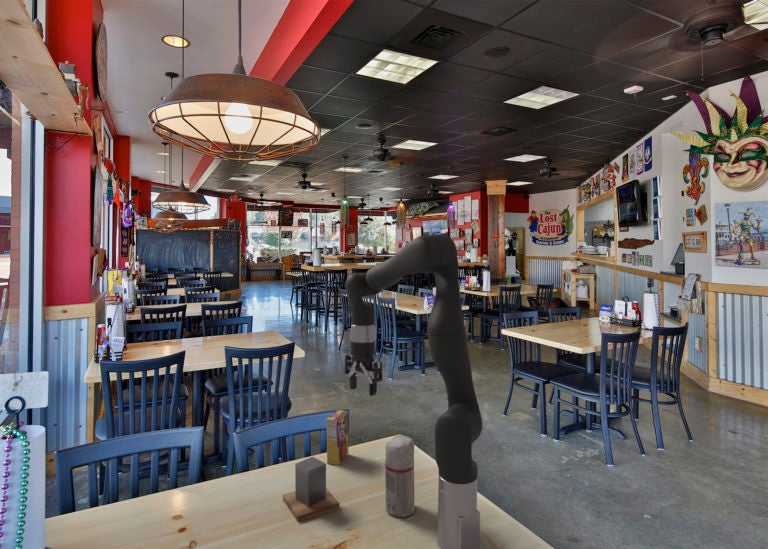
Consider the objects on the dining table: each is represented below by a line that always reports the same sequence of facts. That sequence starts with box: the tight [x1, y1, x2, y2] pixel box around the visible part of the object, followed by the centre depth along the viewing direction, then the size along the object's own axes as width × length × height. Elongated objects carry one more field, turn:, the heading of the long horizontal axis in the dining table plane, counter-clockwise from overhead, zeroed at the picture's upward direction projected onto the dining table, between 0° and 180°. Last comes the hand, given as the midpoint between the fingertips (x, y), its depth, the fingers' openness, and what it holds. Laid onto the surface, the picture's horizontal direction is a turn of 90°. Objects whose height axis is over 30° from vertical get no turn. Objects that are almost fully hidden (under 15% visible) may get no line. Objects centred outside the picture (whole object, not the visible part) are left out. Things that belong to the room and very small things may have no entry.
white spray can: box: [384, 434, 416, 518], centre depth 120 cm, size 8×8×20 cm
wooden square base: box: [282, 487, 341, 523], centre depth 122 cm, size 12×12×8 cm
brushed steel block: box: [294, 456, 327, 507], centre depth 122 cm, size 6×6×10 cm
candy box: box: [325, 410, 349, 466], centre depth 150 cm, size 9×4×15 cm, turn 160°
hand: (362, 391), depth 133 cm, fingers open, 8 cm apart
